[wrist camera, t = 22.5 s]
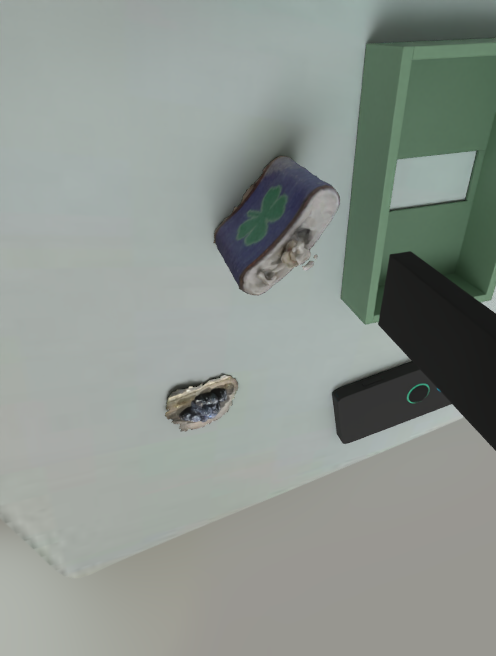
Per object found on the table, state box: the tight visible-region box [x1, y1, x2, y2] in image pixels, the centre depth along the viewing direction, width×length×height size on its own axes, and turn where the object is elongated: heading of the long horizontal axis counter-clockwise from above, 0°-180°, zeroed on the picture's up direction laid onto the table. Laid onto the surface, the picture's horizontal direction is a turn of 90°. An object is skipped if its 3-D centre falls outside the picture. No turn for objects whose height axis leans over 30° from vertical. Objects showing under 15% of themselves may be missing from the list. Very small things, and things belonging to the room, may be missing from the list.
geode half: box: [165, 375, 238, 432], centre depth 47 cm, size 7×8×2 cm
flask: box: [214, 156, 340, 295], centre depth 34 cm, size 9×3×11 cm, turn 138°
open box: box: [341, 38, 496, 324], centre depth 39 cm, size 22×14×5 cm, turn 2°
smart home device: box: [332, 361, 452, 444], centre depth 56 cm, size 8×2×20 cm
